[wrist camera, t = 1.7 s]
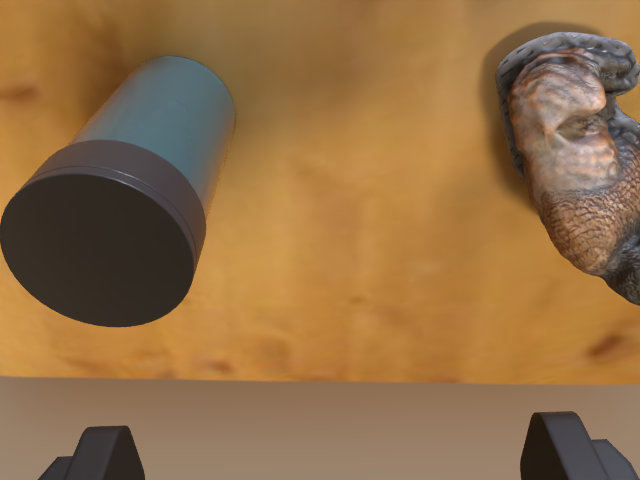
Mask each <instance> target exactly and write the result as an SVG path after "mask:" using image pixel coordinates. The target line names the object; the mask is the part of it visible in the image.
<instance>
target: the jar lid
mask: <svg viewBox="0 0 640 480" xmlns="http://www.w3.org/2000/svg"><path fill="white" fill-rule="evenodd" d="M205 236H206V218H205V214H204V209H203V206H202V204H201V201H200V199H199V197H198V195H197V193H196V191H195V189H194V188H193V187H192V185H191V184H190V182H189V181H188V180H187V179H186V177H185V176H184V175H183V174H182V173H181V172H180V171H179V170H178V169H177V168H175V167H174V166H173V165H172V164H171V163H169V162H168V161H166V160H165V159H163V158H162V157H161V156H159V155H157V154H155V153H153V152H151V151H149V150H147V149H145V148H142V147H140V146H137V145H133V144H130V143H126V142H121V141H115V140H88V141H83V142H78V143H75V144H72V145H69V146H66V147H64V148H63V149H61V150H59V151H57V152H56V153H54V154H53V155H52V156H50V157H49V158H48V159H47V160H46V161H45V162H44V163H43V165H42V166H41V167H40V168H39V169H38V170H37V171H36V172H35V173H34V174H33V176H32V177H31V178H30V179H29V180H28V181H27V182H26V183H25V184H24V185H23V187H22V188H21V189H20V190H19V191H18V192H17V193H16V194H15V195H14V197H13V198H12V199H11V200H10V201H9V203H8V205H7V206H6V208H5V210H4V213H3V215H2V218H1V224H0V243H1V249H2V252H3V255H4V258H5V260H6V262H7V264H8V267H9V269H10V270H11V272H12V273H13V275H14V276H15V278H16V279H17V280H18V281H19V282H20V284H21V285H22V286H23V287H24V288H25V289H26V290H27V291H28V292H29V293H30V294H31V295H32V296H34V297H35V298H36V299H37V300H39V301H40V302H41V303H43V304H44V305H46V306H47V307H49V308H51V309H52V310H54V311H56V312H58V313H60V314H62V315H64V316H67V317H69V318H71V319H74V320H77V321H80V322H84V323H88V324H92V325H97V326H105V327H131V326H137V325H142V324H145V323H149V322H152V321H154V320H157V319H159V318H161V317H163V316H165V315H166V314H168V313H169V312H171V311H172V310H173V309H174V308H176V307H177V306H178V305H179V304H180V303H181V301H182V300H183V299H184V297H185V296H186V294H187V293H188V291H189V289H190V286H191V284H192V281H193V277H194V274H195V271H196V268H197V264H198V261H199V258H200V254H201V251H202V248H203V244H204V240H205Z"/></svg>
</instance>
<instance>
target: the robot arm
mask: <svg viewBox="0 0 640 480" xmlns="http://www.w3.org/2000/svg"><path fill="white" fill-rule="evenodd" d="M520 472H521V480H640V479H639V478H638V476H637V474H636V472H635V470H634V469H633V467H632V465H631V463H630V462H629V461H628V460H627V459H626V458H625V457H624V456H623V455H622V454H621V453H620V452H619V451H618V450H617V449H616V448H615V447H614V446H613V445H612V444H611V443H610V442H609V441H607V439H605V440H604V439H602V440H591V439H590V437H589V435H588V433H587V431H586V429H585V427H584V425H583V423H582V421H581V419H580V417H579V416H578V415H577V414H576V413H574V412H572V411H568V412H538V413H534V414H533V415H532V417H531V421H530V425H529V428H528V432H527V436H526V440H525V444H524V448H523V452H522V456H521V462H520ZM38 480H145V475H144V470H143V467H142V464H141V461H140V458H139V455H138V452H137V449H136V446H135V443H134V440H133V437H132V435H131V431H130V429H129V428H128V426H100V427H88V428H87V429H85V431H84V432H83V434H82V436H81V438H80V440H79V443H78V445H77V448H76V450H75V452H74V455H73V456H68V457H57V458H56V460H55V461H54V462H53V463H52V464H51V465H50V466H49V468H48V469H47V470H46V471H45V472H44V473H43V474H42V475H41V477H40V478H39V479H38Z"/></svg>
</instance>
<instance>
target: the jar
mask: <svg viewBox="0 0 640 480" xmlns="http://www.w3.org/2000/svg"><path fill="white" fill-rule="evenodd" d="M235 123H236V113H235V107H234V103H233V100H232V97H231V95H230V93H229V91H228V89H227V88H226V86H225V85H224V83H223V82H222V81H221V80H220V78H219V77H218V76H217V75H216V74H214V73H213V72H212V71H211V70H210V69H208V68H207V67H205V66H204V65H202V64H200V63H198V62H196V61H194V60H191V59H188V58H184V57H179V56H160V57H156V58H152V59H150V60H147V61H145V62H143V63H141V64H140V65H138V66H137V67H136V68H135V69H134V70H133V71H132V72H131V73H130V74H129V75H128V76H127V77H126V78H125V80H124V81H123V82H122V83H121V84H120V85H119V86H118V88H117V89H116V90H115V91H114V92H113V93H112V94H111V95H110V97H109V98H108V99H107V100H106V101H105V102H104V103H103V105H102V106H101V107H100V108H99V109H98V110H97V111H96V112H95V114H94V115H93V116H92V117H91V118H90V119H89V120H88V122H87V123H86V124H85V125H84V126H83V127H82V128H81V129H80V131H79V132H78V133H77V134H76V135H75V136H74V137H73V138H72V140H71V141H70V142H69V143H68V144H67V145H66V146H69V145H72V144H75V143H78V142H83V141H88V140H115V141H121V142H126V143H130V144H133V145H137V146H140V147H142V148H145V149H147V150H149V151H151V152H153V153H155V154H157V155H159V156H161V157H162V158H163V159H165V160H166V161H168V162H169V163H171V164H172V165H173V166H174V167H175V168H177V169H178V170H179V171H180V172H181V173H182V174H183V175H184V176H185V177H186V179H187V180H188V181H189V182H190V184H191V185H192V187H193V188H194V189H195V191H196V193H197V195H198V197H199V199H200V201H201V204H202V206H203V209H204V214H205V218H206V220H207V216H208V213H209V210H210V207H211V204H212V200H213V197H214V194H215V191H216V188H217V184H218V181H219V178H220V175H221V172H222V168H223V165H224V162H225V159H226V156H227V152H228V149H229V146H230V143H231V140H232V136H233V133H234V129H235ZM66 146H65V147H66Z"/></svg>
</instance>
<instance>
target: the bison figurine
mask: <svg viewBox="0 0 640 480" xmlns="http://www.w3.org/2000/svg"><path fill="white" fill-rule="evenodd" d="M639 72H640V68H639V65H638V63H637V62H636V59H635V56H634V53H633V50H632V49H631V47H630V46H629V45H628V44H626V43H624V42H622V41H620V40H617V39H614V38H607V37H602V36H598V35H594V34H586V33H576V32H555V33H551V34H548V35H544V36H541V37H538V38H535V39H533V40H530V41H528V42H526V43H524V44H523V45H521V46H519V47H518V48H516V49H515V50H513V51H512V52H511V53H509V54H508V55H507V56H506V57H505V58H504V59H503V60H502V62H501V63H500V64H499V66H498V68H497V70H496V74H495V80H496V88H497V94H498V102H499V110H500V115H501V119H502V123H503V127H504V133H505V139H506V144H507V148H508V151H509V154H510V157H511V160H512V163H513V166H514V168H515V170H516V172H517V173H518V175H519V176H520V178H521V179H522V181H523V183H524V184H525V186H526V188H527V190H528V193H529V197H530V200H531V202H532V204H533V205H534V206H535V208H536V210H537V212H538V214H539V216H540V219H541V222H542V224H543V225H544V226H545V228H546V230H547V232H548V234H549V237H550V239H551V241H552V242H553V244H554V246H555V247H556V248H557V249H558V251H559V252H560V254H561V255H562V256H563V257H564V258H566V259H568V260H569V261H570V262H571V263H572V264H573V266H575V267H576V268H577V269H579V270H581V271H582V272H584V273H587V274H590V275H593V276H598V277H601V278H602V279H604V280H605V282H606V283H607V285H608V286H609V287H610V288H611V289H612V290H614V291H615V292H616V293H618V294H619V295H621V296H622V297H624V298H625V299H626V300H628V301H629V302H631V303H633V304H636V305H639V306H640V123H638V122H637V121H635V120H633V119H632V118H630V117H628V116H627V115H626V114H625V113H623V112H622V111H621V110H620V108H619V106H618V104H617V101H616V96H619V95H622V94H625V93H627V92H629V91H630V90H632V89H633V88H634V87H635V86H636V85H637V84H638V76H639Z"/></svg>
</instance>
